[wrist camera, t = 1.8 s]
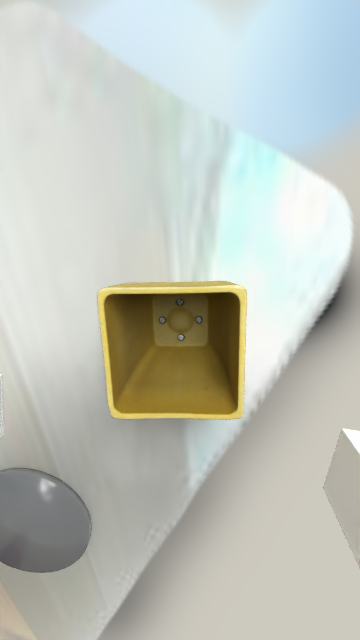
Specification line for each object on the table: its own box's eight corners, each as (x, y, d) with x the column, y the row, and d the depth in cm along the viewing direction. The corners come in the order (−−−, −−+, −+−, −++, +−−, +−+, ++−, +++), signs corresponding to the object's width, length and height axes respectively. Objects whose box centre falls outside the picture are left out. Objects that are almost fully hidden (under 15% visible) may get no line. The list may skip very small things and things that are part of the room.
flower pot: (233, 267, 26) (248, 285, 17) (231, 364, 28) (244, 421, 20) (130, 270, 27) (94, 288, 18) (136, 363, 29) (108, 419, 20)
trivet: (-25, 554, 37) (-30, 561, 37) (-33, 458, 33) (-39, 464, 33) (88, 574, 37) (86, 581, 36) (94, 479, 33) (91, 485, 32)
